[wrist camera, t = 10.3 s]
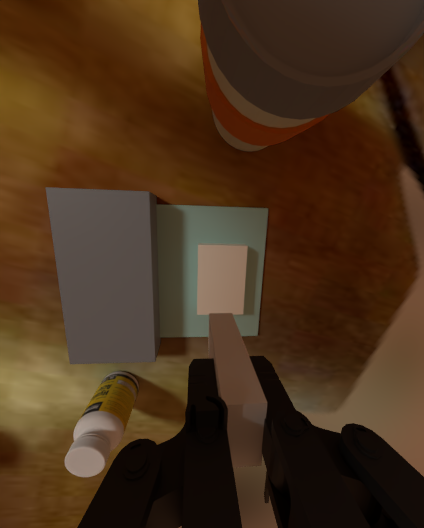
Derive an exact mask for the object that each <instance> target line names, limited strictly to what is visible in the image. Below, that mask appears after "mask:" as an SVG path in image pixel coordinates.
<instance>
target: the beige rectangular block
mask: <svg viewBox="0 0 424 528" xmlns="http://www.w3.org/2000/svg"><path fill="white" fill-rule="evenodd" d="M247 249H248V246H247V245H245V244H220V243H198V276H197V315H209V313H232V314H233V315H237V314H243V308H244V294H245V279H246V264H247Z"/></svg>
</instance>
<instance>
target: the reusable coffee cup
mask: <svg viewBox="0 0 424 528" xmlns="http://www.w3.org/2000/svg"><path fill="white" fill-rule="evenodd" d="M198 5H199V14H200V20H201V35H200V39H201V48H202V56H203V65H204V73H205V82H206V90H207V96H208V99H209V102H210V106H211V108H212V111H213V119H214V122H215V126H216V128H217V130H218V132H219V134H220V135H221V136H222V138H223V139H224V140H225V141H226V142H227V143H228V144H229V145H231V146H233V147H234V148H236V149H239V150H242V151H249V152H251V151H258V150H261V149H264V148H266V147H267V146H270V145H276V144H279V143H281V142H284V141H286V140H288V139H290V138H292V137H294V136H296V135H297V134H299V133H301V132H303V131H305V130H307V129H309V128H310V127H312V126H314V125H315V124H317V123H319V122H320V121H322V120H324V119H325V118H326V117H327V116H328V115H329V114H330V113H333V112H336V111H338V110H340V109H341V108H343V107H345V106H346V105H348V104H350V103H351V102H353V101H355V100H356V99H357V98H358V97H359V96H360V95H361V94H362V93H363V92H365V91H366V90H367V89H368V88H369V87H370V86H371V85H372V84H373V83H374V82H375V81H377V80H378V79H379V78H380V77H381V76H382V75H383V74H384V73H385V72H386V71H387V70H388V69H389V68H390V67H391V66H393V65H394V64H395V63H396V62H397V61H398V60H399V59H400V58H401V57H402V56H403V55H404V54H405V53H406V52H407V51H408V50H410V49H411V48H412V47H413V46H414V44H415V43H416V42H417V40H418V39H419V38H420V37H421V35H422V34H423V33H424V0H198Z"/></svg>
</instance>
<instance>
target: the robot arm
mask: <svg viewBox="0 0 424 528" xmlns="http://www.w3.org/2000/svg"><path fill="white" fill-rule="evenodd" d="M208 354H209V359H193V361H192V362H191V364H190V366H189V378H188V403H187V408H186V412H185V416H186V422H185V425H184V427H183V428H182V430H181V431H180V432H179V433H178V434H177V435H176V436H175V437H173V438H171V439H170V440H168V441H165V442H163V443H161V444H158V445H157V444H156V443H155V442H154V441H151V440H149V439H138V440H135V441H133V442H130V443H129V444H128V445H127V446H125V447H124V448H123V449H122V450H121V451H120V452H119V454H118V455H117V456H116V458H115V459H114V461H113V463H112V465H111V467H110V468H109V470H108V472H107V474H106V476H105V478H104V480H103V481H102V483H101V485H100V487H99V489H98V491H97V492H96V494H95V496H94V498H93V500H92V502H91V503H90V505H89V507H88V509H87V511H86V513H85V515H84V516H83V518H82V520H81V522H80V524H79V526H78V527H77V528H178V527H180V526H182V528H242V524H241V517H240V511H239V505H238V498H237V491H236V485H235V478H234V472H233V468H234V467H246V466H260V465H261V463H262V454H263V458H264V461H265V465H266V468H267V472H266V482H265V492H264V497H265V503H268V501H269V496H270V500H271V504H272V507H273V511H274V515H275V519H276V522H277V526H278V528H424V477H423V476H422V475H421V474H420V473H419V472H418V471H417V470H416V469H415V468H413V467H412V466H411V465H410V464H409V463H408V462H407V461H406V460H405V459H404V458H403V457H402V456H400V455H399V454H398V453H397V452H396V451H395V450H394V449H393V448H392V447H391V446H390V445H389V444H388V443H387V442H385V441H384V440H383V439H382V438H381V437H380V436H378V435H377V434H376V433H375V432H373V431H372V430H370V429H368V428H366V427H364V426H362V425H358V424H354V423H353V424H346V425H345V426H344V427H343V428H342V431H341V433H337V432H333V431H329V430H325V429H321V428H318V427H316V426H314V425H312V424H311V422H310V421H309V420H308V419H307V417H305V416H304V415H303V414H302V413H300V412H299V411H296V409H295V408H294V406H293V404H292V402H291V400H290V398H289V396H288V394H287V393H286V391H285V389H284V387H283V385H282V383H281V381H280V380H279V377H278V375H277V374H276V373H275V370H274V368H273V366H272V364H271V363H270V362H269V361H268V360H267V359H266V358H265V357H264V356H249V355H248V352H247V350H246V347H245V345H244V342H243V339H242V337H241V334H240V332H239V329H238V327H237V324H236V322H235V319H234V317H233V314H232V313H209V337H208Z"/></svg>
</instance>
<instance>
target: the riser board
mask: <svg viewBox="0 0 424 528" xmlns="http://www.w3.org/2000/svg"><path fill="white" fill-rule="evenodd" d="M46 193H47V200H48V208H49V215H50V222H51V229H52V237H53V244H54V251H55V258H56V266H57V273H58V280H59V287H60V295H61V302H62V309H63V316H64V324H65V331H66V338H67V345H68V353H69V360H70V364H91V363H128V362H155V361H156V357H157V354H158V350H159V347H160V343H161V337H160V314H159V280H158V245H157V210H156V204H157V196H156V195H154V194H152V193H151V192H146V191H121V190H95V189H70V188H46Z"/></svg>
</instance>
